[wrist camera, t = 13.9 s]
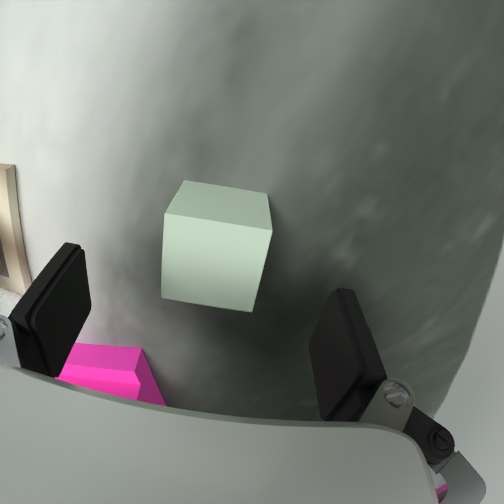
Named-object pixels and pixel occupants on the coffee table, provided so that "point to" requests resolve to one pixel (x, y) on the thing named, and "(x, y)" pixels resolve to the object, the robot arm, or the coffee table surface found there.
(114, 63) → the coffee table surface
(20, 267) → the birch board
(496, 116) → the coffee table surface
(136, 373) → the bracket
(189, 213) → the sage cube
